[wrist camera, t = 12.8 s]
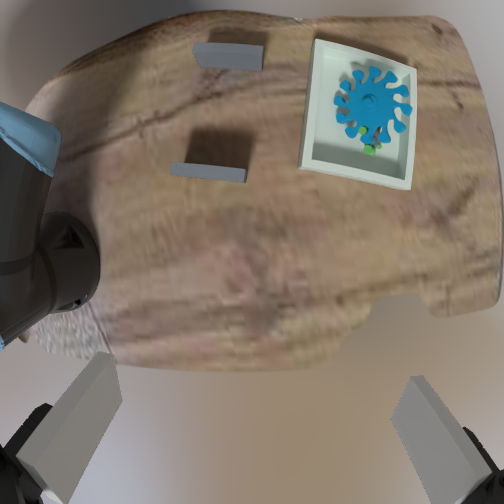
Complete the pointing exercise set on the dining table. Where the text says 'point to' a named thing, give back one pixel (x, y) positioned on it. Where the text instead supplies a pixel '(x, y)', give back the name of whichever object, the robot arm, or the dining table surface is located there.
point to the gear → (372, 108)
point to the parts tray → (333, 133)
